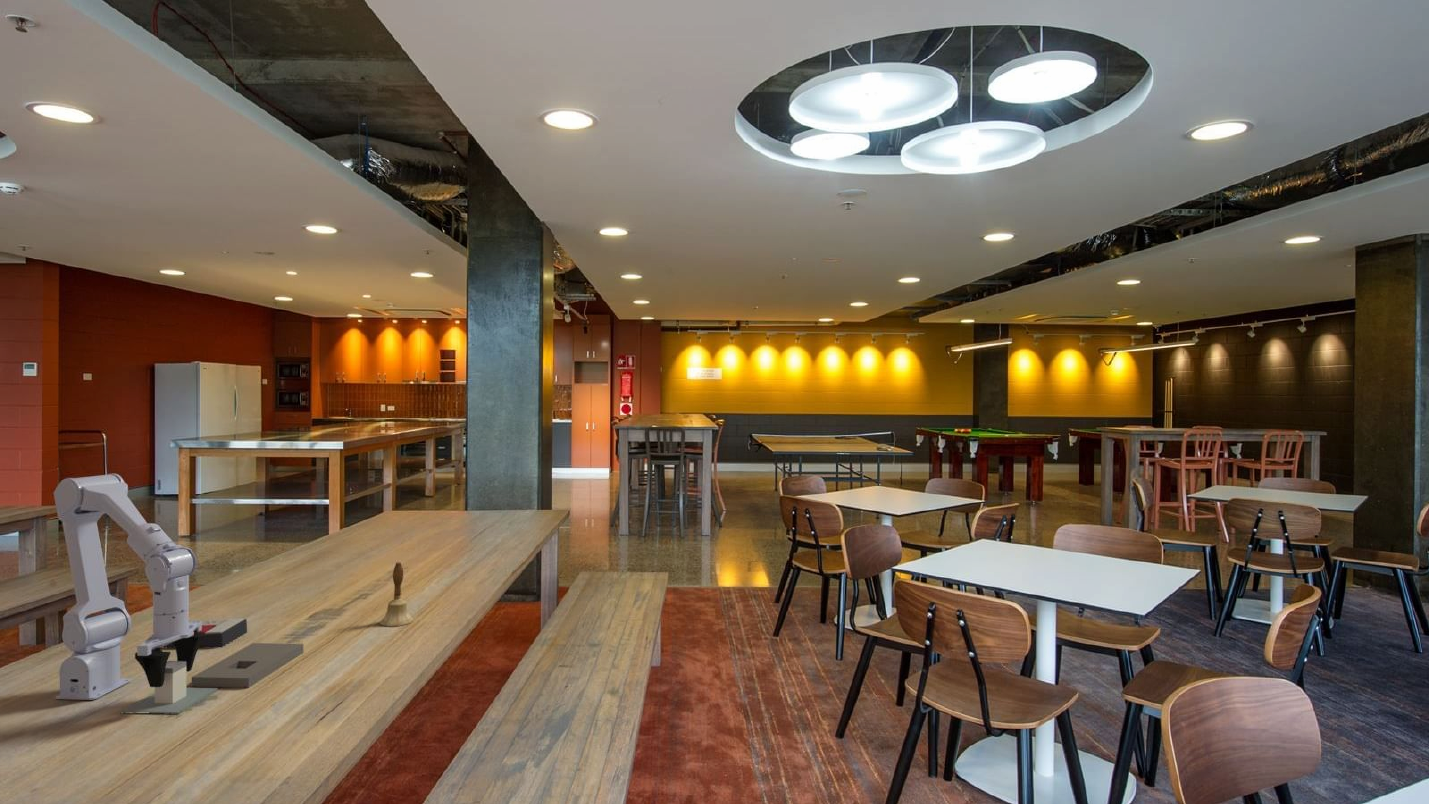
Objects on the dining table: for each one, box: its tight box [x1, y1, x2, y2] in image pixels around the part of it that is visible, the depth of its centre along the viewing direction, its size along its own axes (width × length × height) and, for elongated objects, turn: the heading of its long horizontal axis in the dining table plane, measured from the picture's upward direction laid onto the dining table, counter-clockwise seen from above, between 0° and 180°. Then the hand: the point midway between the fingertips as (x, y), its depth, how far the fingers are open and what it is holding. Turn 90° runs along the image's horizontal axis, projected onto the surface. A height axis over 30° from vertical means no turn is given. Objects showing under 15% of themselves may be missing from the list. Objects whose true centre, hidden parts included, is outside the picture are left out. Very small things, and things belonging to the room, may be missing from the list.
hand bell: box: [379, 561, 414, 628], centre depth 195 cm, size 8×8×16 cm
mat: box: [120, 687, 219, 715], centre depth 145 cm, size 11×11×1 cm
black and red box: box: [164, 617, 248, 648], centre depth 179 cm, size 11×4×15 cm
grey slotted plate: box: [191, 642, 304, 689], centre depth 162 cm, size 20×12×2 cm, turn 0°
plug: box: [154, 660, 187, 704], centre depth 145 cm, size 4×4×7 cm
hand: (171, 678), depth 145 cm, fingers open, 7 cm apart
